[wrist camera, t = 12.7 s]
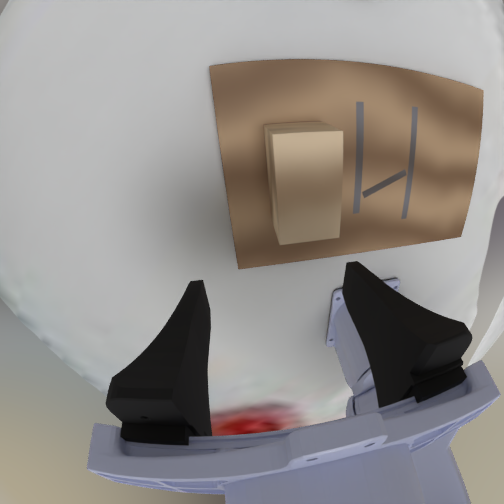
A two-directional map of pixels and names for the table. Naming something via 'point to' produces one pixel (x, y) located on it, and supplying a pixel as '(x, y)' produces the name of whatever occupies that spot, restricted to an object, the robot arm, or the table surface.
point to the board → (351, 151)
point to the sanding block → (304, 180)
